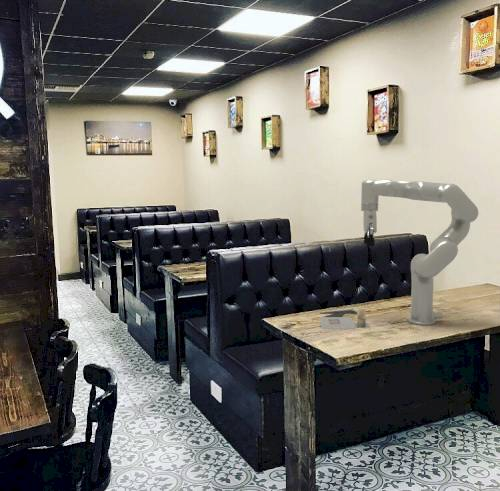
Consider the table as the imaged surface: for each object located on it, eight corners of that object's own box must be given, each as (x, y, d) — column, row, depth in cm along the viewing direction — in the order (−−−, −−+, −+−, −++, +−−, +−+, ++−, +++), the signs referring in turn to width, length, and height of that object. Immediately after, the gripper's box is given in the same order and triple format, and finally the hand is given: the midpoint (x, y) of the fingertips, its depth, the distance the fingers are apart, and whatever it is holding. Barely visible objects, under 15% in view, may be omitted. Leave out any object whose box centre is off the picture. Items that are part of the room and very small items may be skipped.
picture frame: (328, 324, 235) (368, 320, 241) (328, 318, 235) (368, 314, 241) (315, 316, 250) (353, 312, 256) (315, 310, 250) (353, 307, 256)
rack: (366, 324, 231) (366, 316, 230) (370, 332, 219) (370, 324, 218) (319, 324, 233) (319, 316, 232) (321, 332, 221) (321, 323, 220)
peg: (364, 324, 227) (365, 308, 226) (366, 326, 223) (366, 310, 222) (356, 324, 227) (356, 308, 226) (357, 326, 223) (357, 310, 222)
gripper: (381, 208, 221) (380, 247, 223) (375, 206, 238) (374, 243, 240) (363, 208, 222) (362, 247, 224) (359, 206, 239) (358, 242, 241)
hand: (368, 245), depth 232 cm, fingers open, 9 cm apart
